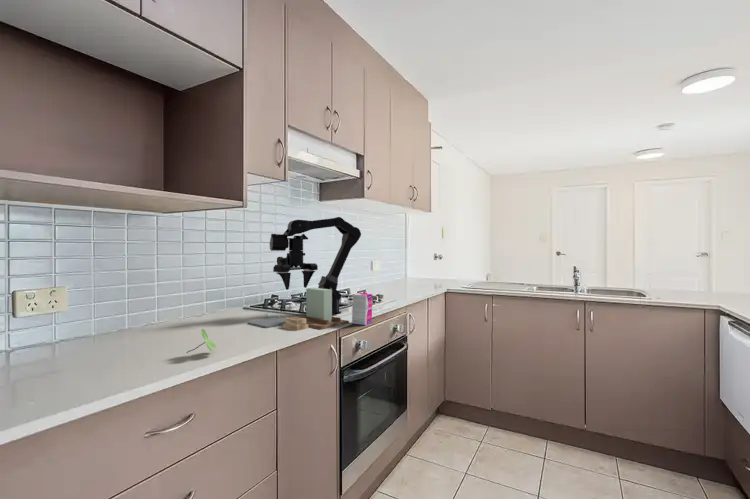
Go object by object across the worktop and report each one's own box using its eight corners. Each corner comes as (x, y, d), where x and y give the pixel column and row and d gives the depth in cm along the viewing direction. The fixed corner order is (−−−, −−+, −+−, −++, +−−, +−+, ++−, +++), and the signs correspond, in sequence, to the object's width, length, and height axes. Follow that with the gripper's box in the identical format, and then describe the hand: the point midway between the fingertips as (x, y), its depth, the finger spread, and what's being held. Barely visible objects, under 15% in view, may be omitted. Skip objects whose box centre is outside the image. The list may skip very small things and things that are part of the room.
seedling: (199, 368, 106) (220, 354, 107) (184, 360, 99) (207, 345, 101) (190, 347, 109) (211, 334, 111) (175, 338, 103) (198, 324, 104)
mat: (278, 318, 155) (278, 317, 155) (297, 322, 148) (297, 320, 148) (247, 323, 145) (247, 322, 145) (265, 328, 137) (265, 326, 137)
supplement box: (365, 326, 140) (365, 295, 140) (351, 325, 142) (351, 294, 142) (372, 323, 145) (372, 293, 145) (358, 322, 147) (358, 292, 147)
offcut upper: (294, 321, 141) (294, 316, 141) (306, 324, 136) (306, 318, 136) (285, 323, 138) (285, 318, 138) (297, 326, 133) (297, 320, 133)
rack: (317, 317, 157) (317, 311, 157) (348, 323, 145) (348, 316, 145) (289, 323, 146) (289, 316, 146) (321, 329, 134) (321, 322, 134)
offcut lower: (294, 327, 142) (294, 321, 142) (308, 329, 137) (308, 324, 137) (283, 329, 138) (283, 323, 138) (297, 332, 133) (297, 326, 133)
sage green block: (314, 318, 150) (314, 287, 150) (331, 321, 144) (331, 289, 144) (306, 319, 147) (306, 288, 147) (324, 323, 141) (323, 290, 141)
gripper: (301, 250, 170) (301, 285, 170) (265, 250, 155) (265, 289, 155) (318, 250, 162) (318, 287, 163) (281, 250, 148) (282, 291, 148)
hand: (296, 288), depth 157 cm, fingers open, 9 cm apart
